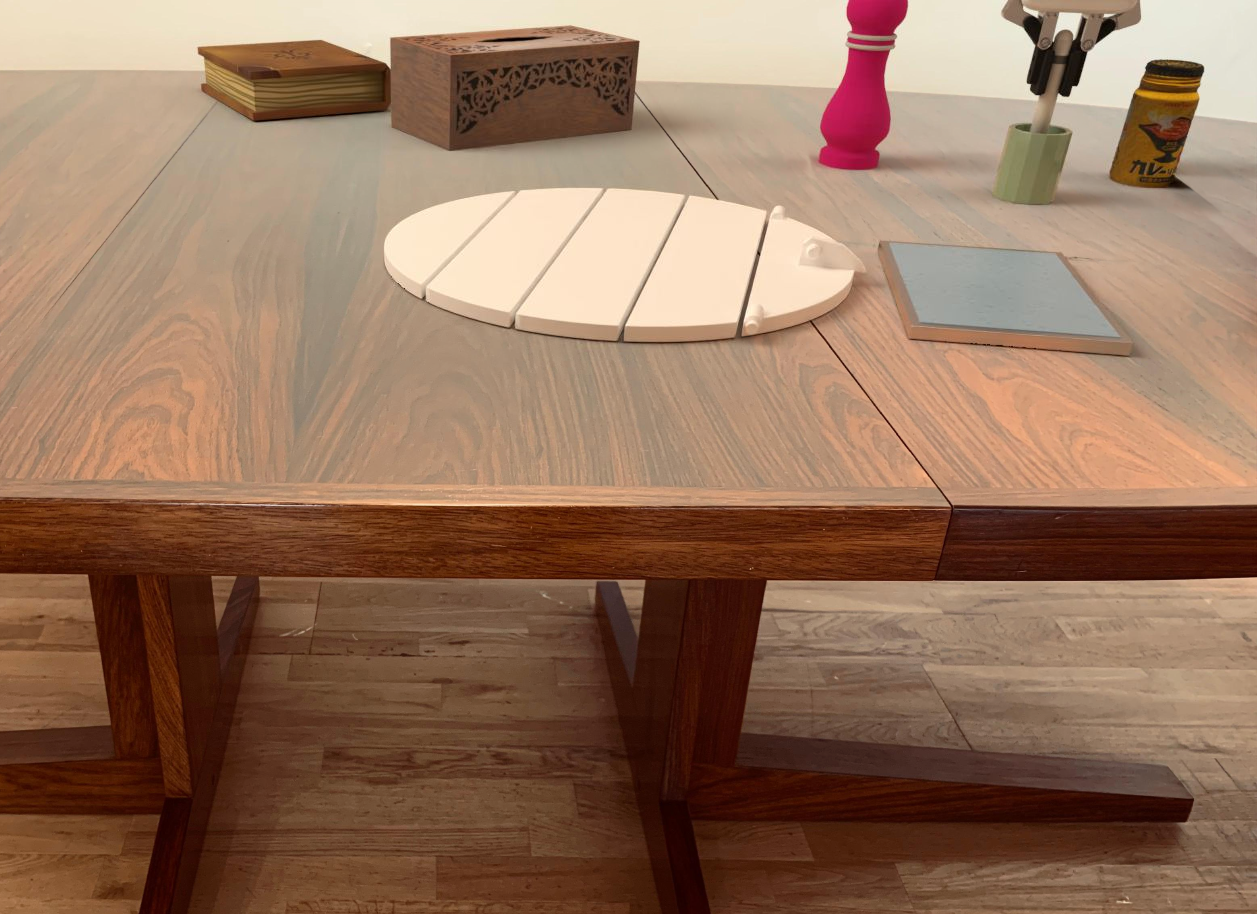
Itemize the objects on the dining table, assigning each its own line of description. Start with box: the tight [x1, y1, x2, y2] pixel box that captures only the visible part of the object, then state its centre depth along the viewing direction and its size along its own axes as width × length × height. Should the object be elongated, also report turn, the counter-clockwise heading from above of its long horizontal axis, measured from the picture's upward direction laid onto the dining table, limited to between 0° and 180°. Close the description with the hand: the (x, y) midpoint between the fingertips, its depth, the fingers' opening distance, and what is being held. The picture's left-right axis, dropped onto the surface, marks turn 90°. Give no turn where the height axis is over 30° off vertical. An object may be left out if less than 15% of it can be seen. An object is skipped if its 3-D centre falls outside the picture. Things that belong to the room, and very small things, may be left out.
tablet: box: [877, 240, 1134, 357], centre depth 94 cm, size 15×22×1 cm
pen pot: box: [991, 122, 1073, 206], centre depth 118 cm, size 6×6×7 cm
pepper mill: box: [818, 0, 909, 171], centre depth 126 cm, size 7×7×20 cm
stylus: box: [1030, 28, 1074, 134], centre depth 115 cm, size 2×2×13 cm
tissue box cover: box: [389, 24, 641, 151], centre depth 144 cm, size 26×14×10 cm, turn 119°
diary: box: [197, 39, 391, 121], centre depth 158 cm, size 23×19×6 cm
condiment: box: [1109, 58, 1205, 189], centre depth 124 cm, size 7×8×12 cm
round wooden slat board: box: [383, 187, 867, 343], centre depth 101 cm, size 40×39×3 cm
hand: (1049, 92), depth 114 cm, fingers closed on stylus, 1 cm apart
